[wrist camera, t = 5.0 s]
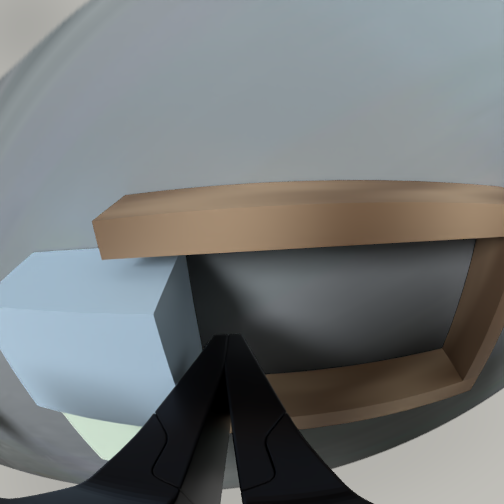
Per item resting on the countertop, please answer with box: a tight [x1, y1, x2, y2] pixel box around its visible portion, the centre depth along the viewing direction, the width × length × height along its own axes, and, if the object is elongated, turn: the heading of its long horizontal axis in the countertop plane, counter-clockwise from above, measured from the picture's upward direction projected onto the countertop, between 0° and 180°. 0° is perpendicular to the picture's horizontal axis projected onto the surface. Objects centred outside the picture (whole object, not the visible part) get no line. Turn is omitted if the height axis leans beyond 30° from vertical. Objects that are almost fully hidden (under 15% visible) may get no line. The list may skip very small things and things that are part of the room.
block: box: [0, 248, 203, 427], centre depth 8 cm, size 6×4×4 cm
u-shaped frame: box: [92, 180, 504, 433], centre depth 9 cm, size 13×8×2 cm, turn 93°
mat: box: [62, 412, 142, 460], centre depth 14 cm, size 8×8×1 cm
